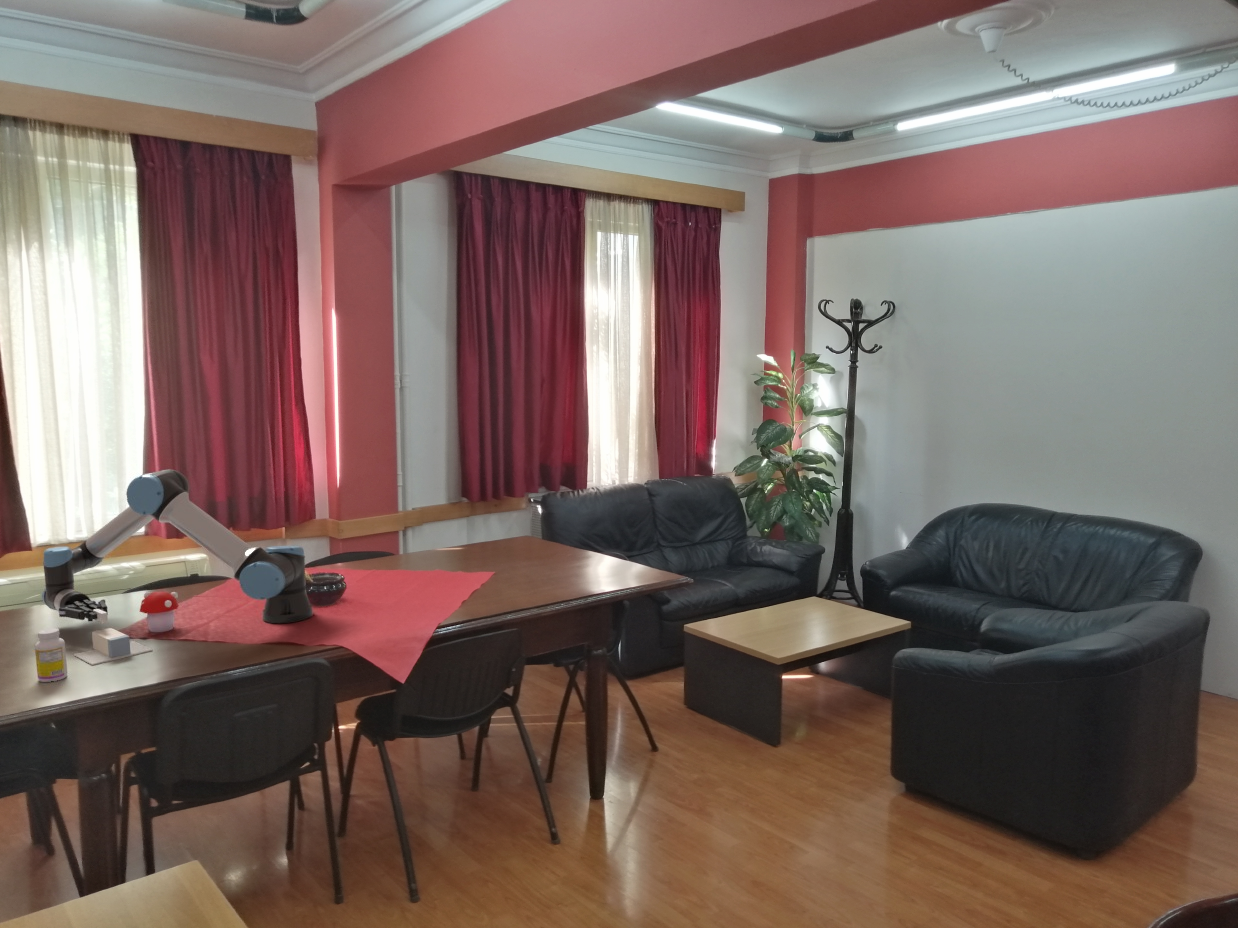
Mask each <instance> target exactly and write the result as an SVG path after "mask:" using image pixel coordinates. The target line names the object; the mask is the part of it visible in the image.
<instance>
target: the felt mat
mask: <svg viewBox="0 0 1238 928" xmlns="http://www.w3.org/2000/svg"><path fill="white" fill-rule="evenodd" d="M130 652H131V654H127V655H123V656H118V657H114V658H111V657H109V656H107V655H105V654H103V653H101V652H99V651H97V650H95V649H91V650H86V651H83V652H78V653H74V654H73V656H74V657H75V656H76V658H77V657H78V658H77V659H79V660H81V659H82V660H81V661H83V662H85V663H86V662H87V664H88V663H89V665H90V666H96V665H100V664H104V663H108V662H112V661H113V662H114V661H116V660H120V659H123V658H129V657H133V656H138V655H141V654H145V653H149V652H153V649H152V648H150V647H149V646H145V645H143V644H142V643H139V642H137V641H135V640H130Z"/></svg>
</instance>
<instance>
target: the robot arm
mask: <svg viewBox="0 0 1238 928" xmlns="http://www.w3.org/2000/svg"><path fill="white" fill-rule="evenodd" d="M189 491H190V484H189V481H188V479H187V477H186V476H185V475H184V474H183V473H181V472H180V471H178V470H176V469H162V470H159V471H153V472H150V473H144V474H141V475H139V476H136V477H135V478H133V479H132V480H131V481H130V483H129V484H128V485H127V488H126V491H125V492H126V493H125V495H126V501H127V504H128V507H127V508H125V509H124V510H123V511H121V513H119V514H118V515H117V516H116V517H114V518H112V520H110V521H109V522H107V523H106V524H105V525H104V526H101V528H100V529H99V530H97V531H96V532H95V533H93V534H92V535H91V536H90V537H88V538H87V539H86V540H84V541H83V542H82V543H81V544H79V545H78V546H76V547H74V548H70V546H54V547H49V548H47V549H45V550H44V551H43V556H42V557H43V558H42V559H43V562H42V565H43V573H44V581H45V582H44V583H45V589H44V590H43V592H42V593H41V594H42V595H41V599H42V601H43V604H44V605H45V606H47V607H48V608H49V609H51V610H54V611H56V612H58V614H59V617H60V618H69V619H75V620H80V621H84V620H85V619H87V622H93V620H95V621H97V622H99V623H101V624H105V623H108V622H109V621H108V613H109V612H108V605H107V603H106V599H101V600H98V601H97V602H96V601H95V600H91V599H90V597H89V596H88V595H86V594H85V593H83V592H80V591H78V590H75V579H74V574H77V573H80V572H83V571H85V570H88V569H91V568H94V567H96V566H98V565H99V564H101V563H102V562H103V560H104V558H105V556H107V555H109V554H110V553H111V552H112V551H114V550H116V549H117V548H118V547H119V546H121V545H122V544H123V543H124V542H126V540H128V539H129V538H131V537H132V536H133V535H135V534H136V533H137V532H139V531H140V530H141V529H142V528H144V527H145V526H146V525H148V524H149V523H150V522H151V521H153V520H154V519H155V520H156V521H158V522H159V523H160V524H165V523H169V524H171V525H172V526H174V527H175V528H176V529H178V531H180V532H181V533H183V534H184V535H185V536H186V537H188V538H190V540H192V541H194V542H195V543H196V544H198V545H199V546H200V547H202V548H203V549H205V550H206V551H207V552H208V553H209V554H210V555H212V556H213V557H214V558H216V559H217V560H219V561H220V562H221V563H223V565H226V566H227V567H228V568H230V569H231V570H232V574H233V578H234V579H235V580H236V581H238V583H239V584H240V585H239V586H240V589H241V590H242V592H243V593H244V594H245V595H246V596H247V597H249V598H251V599H253V600H258V601H260V600H261V601H262V600H263V601H264V600H265V603H264V609H262V620H263V621H264V622H266V623H270V624H288V623H296V622H300V621H301V622H302V621H305V620H308V619H310V618H311V617H313V615H314V611H313V606H312V605H311V602H310V598H309V596H308V594H307V588H306V584H307V583H306V564H305V563H306V562H305V561H306V560H305V558H306V556H305V553H304V551H305V550H304V548H303V547H302V546H299V545H276V546H268V547H266V548H265V549H264V548H262V547H260V546H255V547H253V546H251V545H250V544H248V543H247V542H245V541H244V540H243V539H242V538H240V537H239V536H237V535H236V534H235V533H233V532H232V531H231V530H229V529H228V528H227V527H225V526H224V525H223V524H222V523H220V522H219V521H218V520H216V519H215V518H214V517H213V516H211V515H209V514H208V513H207V512H206V511H204V510H203V509H201V508H200V507H199V506H198V505H196V504H195V503H194V502H193V501H190V497H189V496H190V495H189Z"/></svg>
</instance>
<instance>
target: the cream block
mask: <svg viewBox="0 0 1238 928" xmlns="http://www.w3.org/2000/svg"><path fill="white" fill-rule="evenodd" d="M91 638H92V639H91V640H92V650H97V651H99V652H101V653H103V654H105V655H107V656H109V657H111V658H114V657H118V656H123V655H127V654H131V652H130V641H131V640H130V636H129V635H128V634H125V633H123V632H121V631H119V630H116V629H114V628H112V627H106V628H102V629H98V630H94V631H91Z"/></svg>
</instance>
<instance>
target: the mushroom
mask: <svg viewBox="0 0 1238 928" xmlns="http://www.w3.org/2000/svg"><path fill="white" fill-rule="evenodd" d="M178 597H179V594H178V592H177V591H176V592H175V591H173V592H171V593H169V592H166V591H164V590H160V591H159V590H157V591H154V592H150V591H146V592H145V593H144V594H143V599H142V600H141V604H140V608H139V612H140V613H143V614H146V622H147V625H148V630H149V632H151V633H164V632H168V631H171V630H172V629H174V626H175V617H176V616H175V612H174V610H177V609H178V608H179V603H178V600H177V599H178Z"/></svg>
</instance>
